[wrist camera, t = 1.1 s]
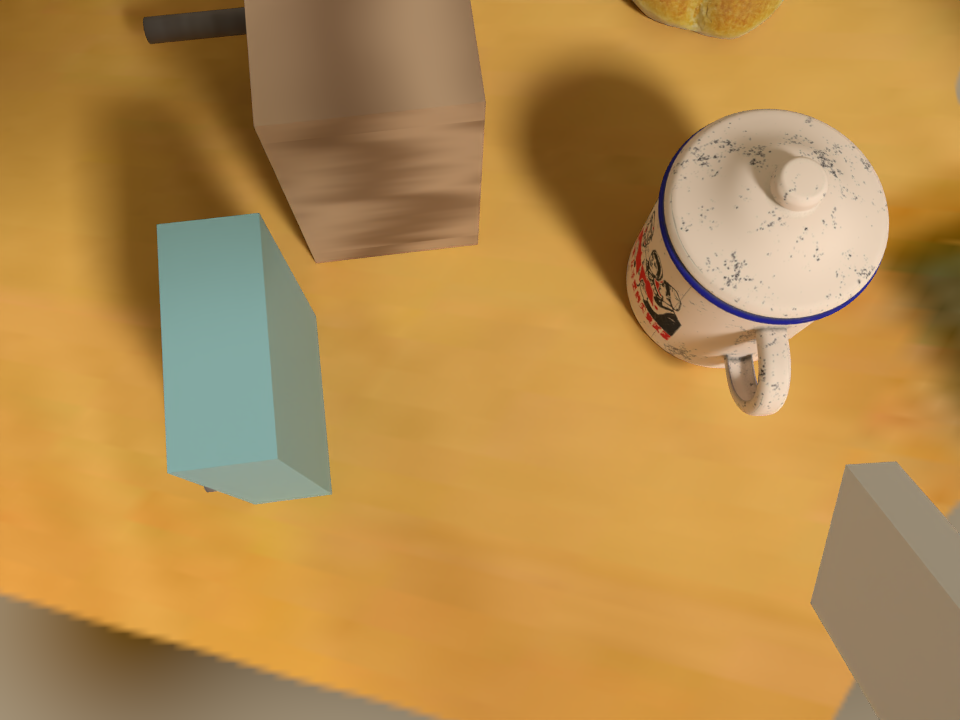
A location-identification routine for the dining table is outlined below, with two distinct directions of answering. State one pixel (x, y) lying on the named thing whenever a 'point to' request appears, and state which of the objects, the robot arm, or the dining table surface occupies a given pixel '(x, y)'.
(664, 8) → the bread roll
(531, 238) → the dining table surface
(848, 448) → the dining table surface
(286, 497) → the door
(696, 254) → the teacup with lid
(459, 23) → the cabinet
